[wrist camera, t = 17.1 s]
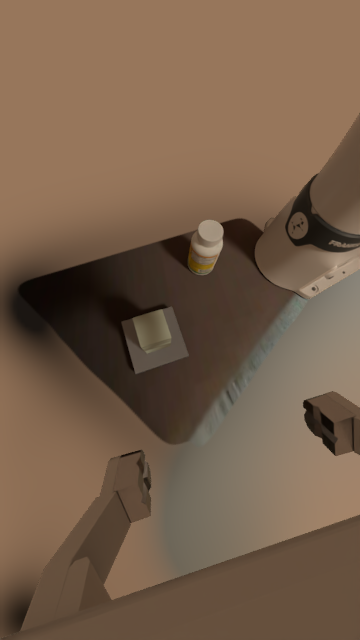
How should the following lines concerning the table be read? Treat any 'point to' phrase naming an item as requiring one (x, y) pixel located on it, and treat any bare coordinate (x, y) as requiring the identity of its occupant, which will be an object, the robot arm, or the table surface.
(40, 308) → the table surface
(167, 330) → the sage block
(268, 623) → the robot arm
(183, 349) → the gray rectangular slab
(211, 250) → the supplement bottle
